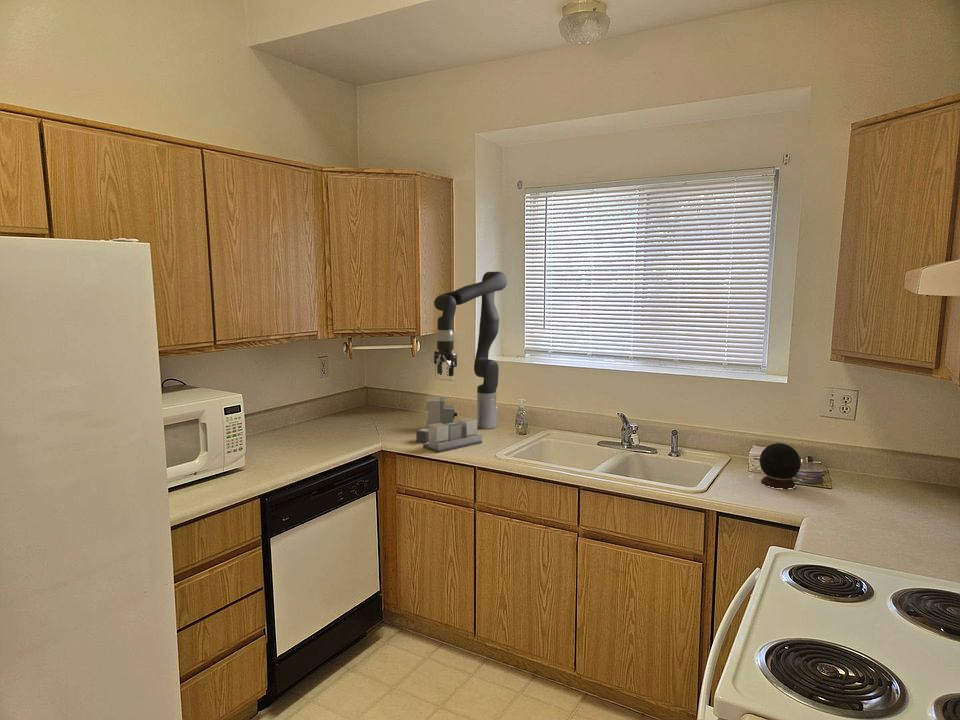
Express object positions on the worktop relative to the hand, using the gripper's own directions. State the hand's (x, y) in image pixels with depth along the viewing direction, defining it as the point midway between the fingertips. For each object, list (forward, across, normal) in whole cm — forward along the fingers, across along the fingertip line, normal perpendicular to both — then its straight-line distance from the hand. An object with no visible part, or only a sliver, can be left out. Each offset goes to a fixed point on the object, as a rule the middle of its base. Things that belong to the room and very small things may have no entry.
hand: (445, 374), depth 284 cm
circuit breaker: (+28, +8, -4) cm, 30 cm away
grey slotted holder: (+28, -16, +8) cm, 33 cm away
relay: (+28, -3, +14) cm, 32 cm away
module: (+27, -16, +8) cm, 32 cm away
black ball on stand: (+28, -130, -50) cm, 142 cm away
